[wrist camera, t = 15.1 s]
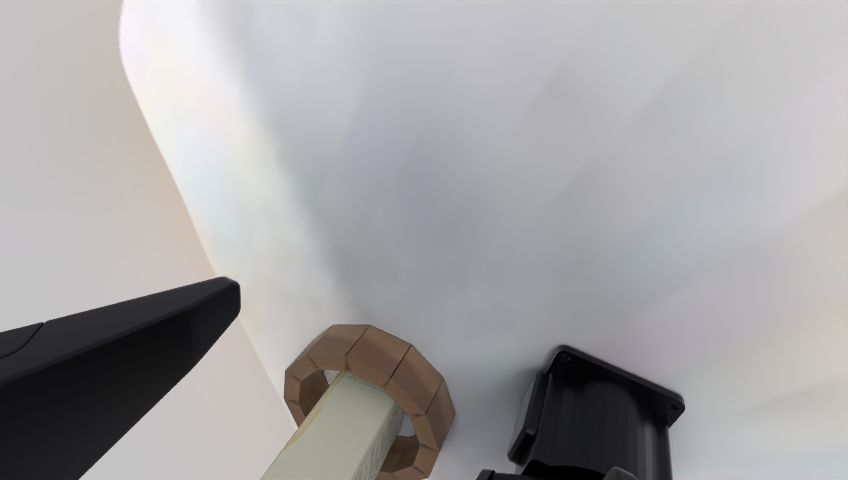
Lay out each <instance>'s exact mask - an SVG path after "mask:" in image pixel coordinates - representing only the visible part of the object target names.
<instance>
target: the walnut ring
mask: <svg viewBox="0 0 848 480" xmlns="http://www.w3.org/2000/svg"><path fill="white" fill-rule="evenodd" d="M323 370H338V371H349V372H351V373H353V374H354V375H356V376H358V377H360V378H362V379H364V380H366V381H368V382H370V383H372V384H374V385H376V386H378V387H380V388H382V389H383V390H384V391H385V392H386V393H387V394H388V395H389V396H390V397H391V398H392V399H393V400H394V401H395V402H396V403H397V404H398V405H399V406H400V407H401V408H402V409H403V410H404V411H405V412H406V414H407V415H408V416H409V417H410V419H411V422H412V425H413V427H414V430H415V433H416V435H414V436H412V437H410V438H409V437H402V436H396V438H395V440H394V442H393V444H392V446H391V448H390V450H389V452H388V454H387V456H386V458H385V460H384V462H383V464H382V466H381V468H380V470H379V472H378V474H377V475H376V477H375V479H374V480H422V479H425V478H428V477H429V476H430V473H431V471H432V468H433V466H434V464H435V461H436V459H437V457H438V454H439V452H440V450H441V447H442V445H443V443H444V440H445V438H446V435H447V433H448V430H449V428H450V425H451V423H452V421H453V418H454V416H455V411H454V408H453V405H452V402H451V399H450V396H449V393H448V390H447V387H446V384H445V381H444V379H443V377H442V376H441V375H440V374H439V373H438V372H437V371H436V370H435V369H434V368H433V367H432V366H431V365H430V364H429V363H428V362H427V360H426V359H425V358H424V357H423V356H422V355H421V354H420V353H419V352H418V351H417V350H416V349H415V348H414V347H413V346H411V344H409V343H407V342H405V341H402V340H400V339H398V338H396V337H394V336H392V335H390V334H388V333H386V332H384V331H382V330H379V329H377V328H375V327H373V326H371V325H370V326H369V325H332V326H331V327H330V328H329V329H327V330H326V331H325V332H324V333H322V334H321V335H320V336H318V337H317V338H316V339H315V340H313V341H312V342H311V343H310V344H309V346H308V347H307V348H306V349H305V350H304V351H303V352H302V353H301V354H300V355H299V356H298V357H297V358H296V359H295V361H294V362H293V363H292V364H291V365H290V366H289V367H288V368H287V369H286V371H285V385H284V400H285V402H286V404H287V406H288V408H289V410H290V412H291V414H292V416H293V418H294V420H295V422H296V424H297V426H298V428H299V427H300V425H301V424H302V423H303V421H304V420H305V419H306V417H307V416H308V415H309V413H310V412H311V411H312V409H313V408H314V406H315V405H316V404H317V402H318V401H319V400H320V398H321V397H322V396H323V394H324V393H325V391H326V390H327V389H328V387H329V385H328V383H327V381H326V379H325V376H324V374H323Z"/></svg>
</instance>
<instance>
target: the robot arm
mask: <svg viewBox="0 0 848 480" xmlns="http://www.w3.org/2000/svg"><path fill="white" fill-rule="evenodd" d="M240 309H241V297H240V285H239V283H238V282H236V281H234V280H232V279H230V278H228V277H218V278H214V279H210V280H206V281H202V282H198V283H194V284H190V285H186V286H183V287H179V288H175V289H170V290H167V291H163V292H159V293H155V294H151V295H147V296H143V297H139V298H136V299H131V300H127V301H123V302H119V303H116V304H112V305H108V306H104V307H100V308H96V309H92V310H88V311H85V312H81V313H77V314H73V315H68V316H65V317H61V318H57V319H53V320H49V321H46V322H45V323H43V322H41V323H37V324H33V325H29V326H25V327H21V328H17V329H13V330H8V331H4V332H0V480H79V479H80V478H81V477H82V476H83V475H84V474H85V473H86V472H87V471H88V470H89V469H90V468H91V467H92V466H93V465H94V464H95V463H96V462H97V461H98V460H99V459H100V458H101V457H102V456H103V455H104V454H105V453H106V452H107V451H108V450H109V449H110V448H112V447H113V446H114V445H115V444H116V443H117V442H118V441H119V440H120V439H121V438H122V437H123V436H124V435H125V434H126V433H127V432H128V431H129V430H130V429H131V428H132V427H133V426H134V425H135V424H136V423H137V422H138V421H139V420H140V419H141V418H142V417H143V416H144V415H145V414H146V413H148V412H149V411H150V409H152V408H153V407H154V406H155V405H156V404H157V403H158V402H159V401H160V400H161V399H162V398H163V397H164V396H165V395H166V394H167V393H168V392H169V391H170V390H171V389H172V388H173V387H174V386H175V385H176V384H177V383H178V382H179V381H180V380H181V379H182V378H183V377H184V376H185V375H187V374H188V373H189V372H190V371H191V370H192V368H193V367H194V366H195V365H196V364H197V363H198V362H199V361H200V360H201V359H202V358H203V356H204V355H205V354H206V353H207V352H208V350H209V349H210V348H211V347H212V346H213V345H214V343H215V342H216V341H217V340H218V339H219V337H220V336H221V335H222V334H223V333H224V332H225V330H226V329H227V328H228V327H229V325H230V324H231V323H232V322H233V321H234V320H235V318H236V317H237V316H238V314H239V312H240ZM563 355H568V356H569V357H564V356H563ZM670 403H676V404H675V405H673V404H670ZM684 410H685V403H684V399H683V398H682V397H681V396H680V395H678V394H676V393H673V392H671V391H669V390H667V389H664V388H662V387H660V386H658V385H655V384H653V383H651V382H648V381H646V380H644V379H642V378H639V377H637V376H635V375H632V374H630V373H628V372H626V371H623V370H621V369H619V368H617V367H614V366H612V365H610V364H607V363H605V362H603V361H601V360H598V359H596V358H594V357H591V356H589V355H587V354H585V353H582V352H580V351H578V350H576V349H573V348H571V347H568V346H561V347H559V348H558V349H557V351H556V353H555V354H554V356H553V358H552V360H551V362H550V364H549V366H548V367H547V369H546V371H545V373H544V372H542V371H541V372H538V373H536V375H535V376H534V378H533V380H532V382H531V384H530V386H529V388H528V390H527V392H526V393H525V395H524V397H523V399H522V402H521V406H520V410H519V413H518V417H517V421H516V424H515V428H514V432H513V435H512V439H511V442H510V446H509V450H508V453H507V456H508V458H509V461H511V462H513V463H515V464H517V465H516V469H515V473H514V474H506V473H495V471H494V470H486V469H483V470H482V471H481V473H480V474H479V476H478V477H477V479H476V480H673V477H672V465H671V453H670V441H669V428H670V427H671V426H672V425H673V423H674V422H675V421H676V420H677V419H678V418H679V416H680V415H681V414H682V413H683V412H684Z"/></svg>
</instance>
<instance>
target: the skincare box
mask: <svg viewBox="0 0 848 480" xmlns="http://www.w3.org/2000/svg"><path fill="white" fill-rule="evenodd" d="M403 415H404V410H403V409H402V408H401V407H400V406H399V405H398V404H397V403H396V402H395V401H394V400H393V399H392V398H391V397H390V396H389V395H388V394H387V393H386V392H385V391H384V390H383V389H382V388H380V387H378V386H376V385H374V384H372V383H370V382H368V381H366V380H364V379H362V378H360V377H358V376H356V375H354V374H353V373H351V372H349V371H340V373H339V374H338V375H337V377H336V378H335V379H334V381H333V382H332V383H331V385H330V386H329V387H328V389H327V390H326V391H325V393H324V394H323V396H322V397H321V398H320V400H319V401H318V402H317V404H316V405H315V406H314V408H313V409H312V411H311V412H310V413H309V415H308V416H307V417H306V419H305V420H304V421H303V423H302V424H301V425H300V427H299V428H298V429H297V431H296V432H295V434H294V435H293V436H292V438H291V439H290V440H289V442H288V443H287V444H286V446H285V447H284V449H283V450H282V451H281V452H280V454H279V455H278V456H277V458H276V459H275V460H274V462H273V463H272V464H271V466H270V467H269V468H268V470H267V471H266V473H265V474H264V475H263V477H262V478H261V479H260V480H374V479H375V477H376V475H377V474H378V472H379V470H380V468H381V466H382V464H383V462H384V460H385V458H386V456H387V454H388V452H389V450H390V448H391V446H392V444H393V442H394V440H395V438H396V436H397V434H398V432H399V430H400V428H401V424H402V420H403Z"/></svg>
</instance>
